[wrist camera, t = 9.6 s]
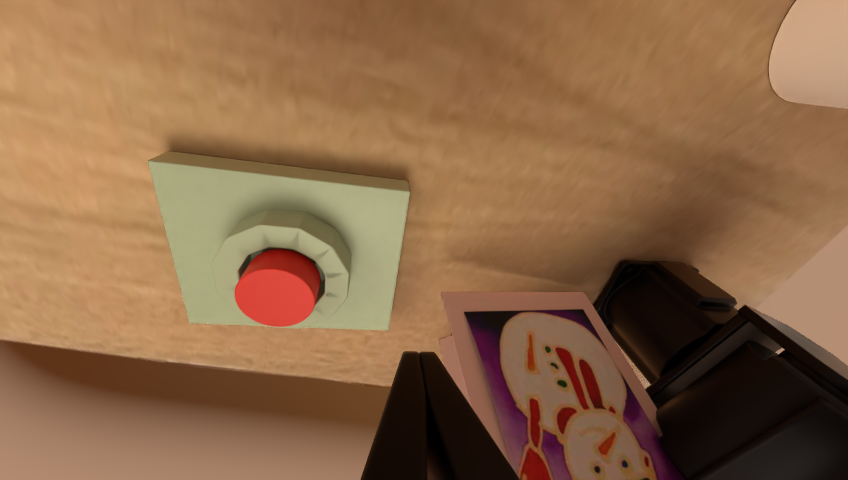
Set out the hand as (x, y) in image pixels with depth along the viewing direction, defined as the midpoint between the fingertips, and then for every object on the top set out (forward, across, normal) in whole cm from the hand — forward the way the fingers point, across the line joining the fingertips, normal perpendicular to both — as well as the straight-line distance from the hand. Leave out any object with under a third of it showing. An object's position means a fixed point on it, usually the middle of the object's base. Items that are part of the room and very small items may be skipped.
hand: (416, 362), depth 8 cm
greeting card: (+11, -8, +8) cm, 16 cm away
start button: (+8, +6, +4) cm, 11 cm away
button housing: (+12, +6, +4) cm, 13 cm away
